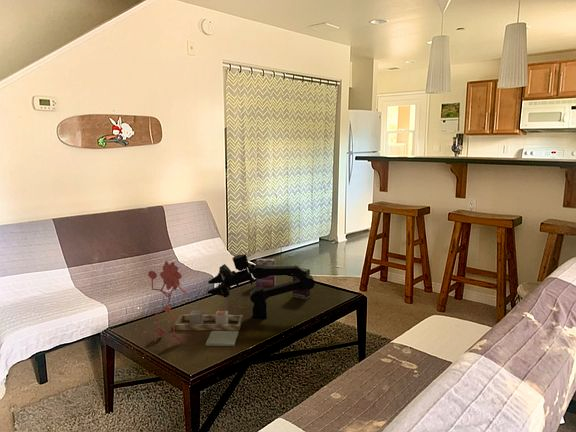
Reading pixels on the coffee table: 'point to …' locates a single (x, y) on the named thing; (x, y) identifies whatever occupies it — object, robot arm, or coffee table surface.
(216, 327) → the bin
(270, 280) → the candy bar box
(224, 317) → the labelled block
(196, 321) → the grey block
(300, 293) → the supplement box
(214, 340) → the sage board
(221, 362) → the coffee table surface
